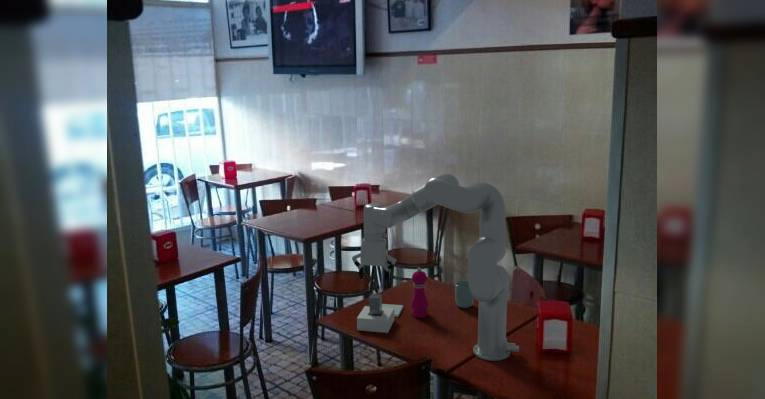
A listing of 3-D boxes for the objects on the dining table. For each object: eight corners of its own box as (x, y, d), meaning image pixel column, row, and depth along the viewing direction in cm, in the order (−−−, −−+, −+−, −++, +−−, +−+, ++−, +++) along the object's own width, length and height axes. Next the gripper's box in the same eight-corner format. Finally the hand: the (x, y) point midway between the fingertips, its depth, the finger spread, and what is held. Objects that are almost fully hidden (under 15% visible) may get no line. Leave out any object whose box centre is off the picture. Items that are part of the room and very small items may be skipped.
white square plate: (403, 307, 242) (403, 305, 242) (398, 317, 233) (398, 314, 233) (379, 305, 245) (379, 303, 244) (374, 315, 235) (374, 312, 235)
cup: (451, 304, 244) (451, 282, 242) (467, 301, 248) (467, 279, 245) (461, 311, 237) (461, 288, 235) (477, 307, 241) (477, 285, 239)
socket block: (394, 319, 230) (394, 308, 229) (387, 332, 219) (387, 320, 218) (365, 317, 233) (364, 306, 232) (357, 330, 221) (356, 318, 220)
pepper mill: (428, 311, 238) (428, 264, 234) (428, 318, 231) (428, 270, 227) (411, 310, 239) (410, 264, 235) (410, 318, 232) (409, 270, 228)
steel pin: (382, 323, 227) (381, 294, 225) (380, 327, 224) (379, 298, 221) (372, 322, 228) (371, 293, 226) (369, 326, 224) (369, 297, 222)
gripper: (398, 234, 220) (398, 277, 224) (354, 232, 224) (355, 274, 228) (394, 240, 213) (394, 284, 217) (349, 237, 217) (349, 280, 221)
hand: (374, 279), depth 222 cm, fingers open, 9 cm apart
